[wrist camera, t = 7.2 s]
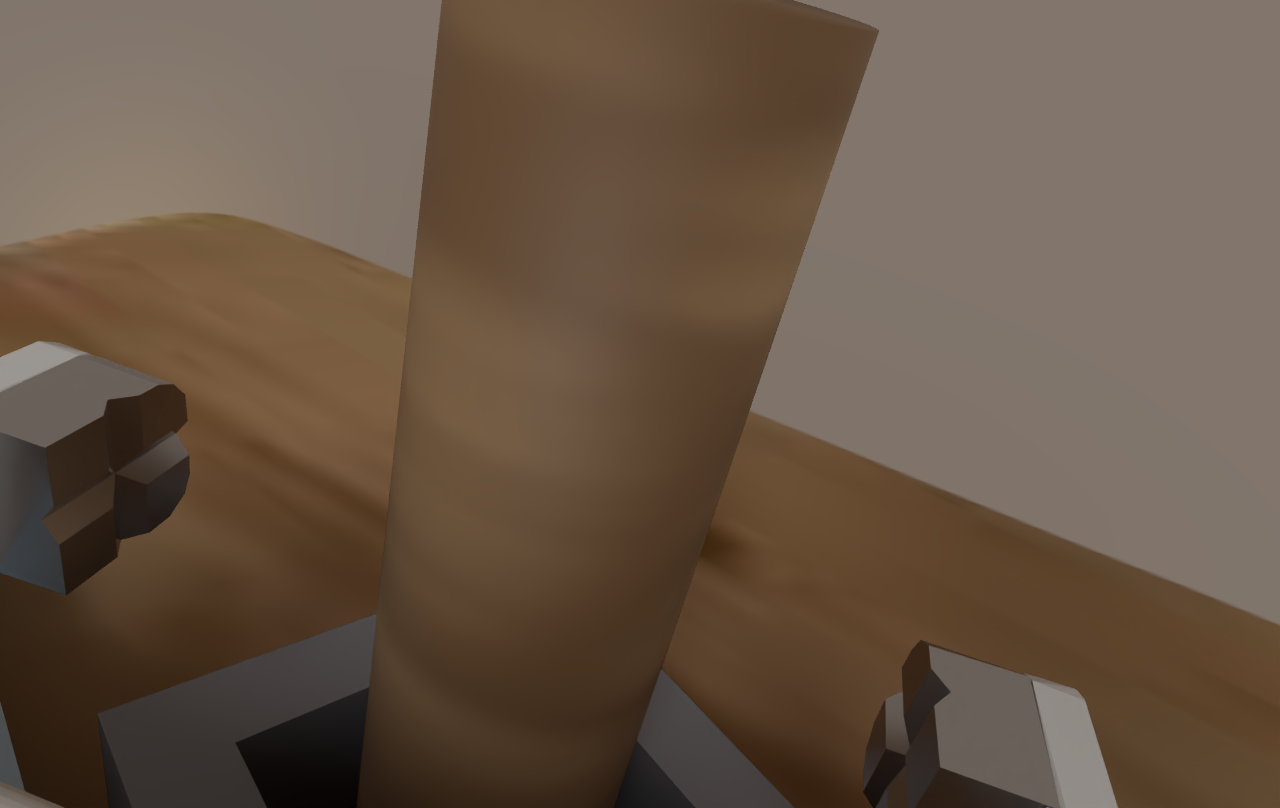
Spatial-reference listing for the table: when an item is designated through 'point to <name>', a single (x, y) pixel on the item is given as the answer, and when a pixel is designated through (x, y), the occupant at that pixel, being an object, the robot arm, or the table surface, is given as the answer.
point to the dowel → (582, 369)
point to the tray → (8, 757)
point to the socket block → (359, 739)
